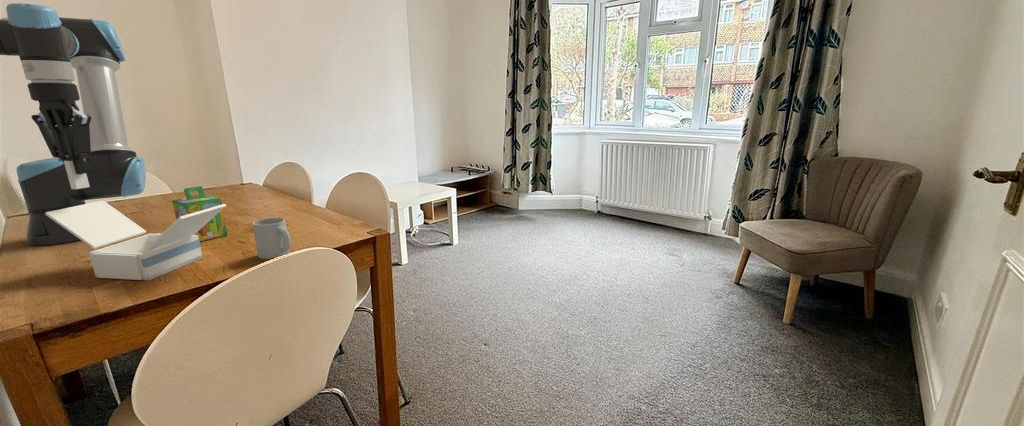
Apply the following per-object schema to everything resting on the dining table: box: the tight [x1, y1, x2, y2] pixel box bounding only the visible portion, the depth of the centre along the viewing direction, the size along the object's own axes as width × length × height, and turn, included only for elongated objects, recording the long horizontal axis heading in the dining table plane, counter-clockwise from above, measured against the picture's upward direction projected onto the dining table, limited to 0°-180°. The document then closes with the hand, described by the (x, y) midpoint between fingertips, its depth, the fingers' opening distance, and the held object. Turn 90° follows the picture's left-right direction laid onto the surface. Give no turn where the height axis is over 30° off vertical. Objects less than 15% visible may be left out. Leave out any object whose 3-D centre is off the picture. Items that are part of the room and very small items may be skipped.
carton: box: [88, 232, 204, 281], centre depth 101 cm, size 14×15×6 cm
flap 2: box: [145, 203, 227, 251], centre depth 97 cm, size 1×12×13 cm
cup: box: [252, 217, 292, 260], centre depth 108 cm, size 7×10×9 cm
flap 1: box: [45, 200, 147, 250], centre depth 101 cm, size 1×12×13 cm
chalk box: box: [171, 185, 228, 242], centre depth 123 cm, size 9×9×15 cm
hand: (80, 187), depth 99 cm, fingers closed
